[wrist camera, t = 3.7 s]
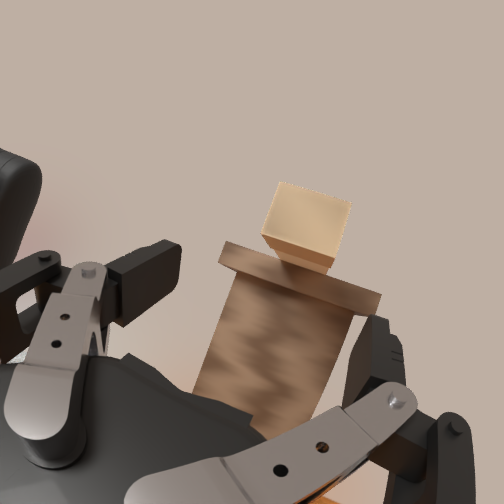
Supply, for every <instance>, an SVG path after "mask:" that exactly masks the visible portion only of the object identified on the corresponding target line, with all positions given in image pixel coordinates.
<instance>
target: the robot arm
mask: <svg viewBox="0 0 504 504" xmlns="http://www.w3.org/2000/svg"><path fill="white" fill-rule="evenodd" d="M41 186H42V173H41V170H40V168H39V166H38V165H37V164H36V163H34V162H32V161H30V160H28V159H25V158H23V157H21V156H18V155H16V154H13V153H11V152H8V151H5V150H3V149H1V148H0V504H311V503H312V502H314V501H315V500H317V499H318V498H320V497H321V496H322V495H324V494H325V493H326V492H328V491H329V490H331V489H332V488H333V487H335V486H336V485H338V484H339V483H340V482H342V481H343V480H345V479H346V478H347V477H348V476H350V475H351V474H352V473H354V472H355V471H356V470H358V469H359V468H360V467H361V466H363V465H364V464H365V463H366V462H368V461H369V460H370V461H372V462H374V463H376V464H377V465H379V466H381V467H383V468H385V469H387V470H389V475H388V482H387V487H386V493H385V498H384V502H383V504H476V489H475V467H474V454H473V444H472V436H471V429H470V427H469V425H468V423H467V422H466V420H465V419H464V418H462V417H461V416H460V415H458V414H456V413H452V412H446V413H443V414H442V415H440V417H439V418H438V419H437V420H435V419H433V418H432V417H430V416H428V415H426V414H424V413H422V412H420V411H419V410H418V409H417V405H418V403H417V399H416V397H415V395H414V394H413V393H412V391H411V390H410V389H409V388H407V387H406V379H405V368H404V358H403V349H402V344H401V343H400V341H399V339H398V338H397V336H395V335H393V334H390V329H389V320H388V319H385V318H382V317H379V316H376V315H373V314H370V315H369V317H368V318H367V321H366V323H365V325H364V327H363V329H362V331H361V333H360V335H359V337H358V340H357V341H356V343H355V345H354V347H353V350H352V352H351V355H350V358H349V365H348V372H347V378H346V384H345V390H344V396H343V402H342V407H341V406H335V407H333V408H331V409H329V410H328V411H326V412H324V413H322V414H321V415H319V416H317V417H315V418H313V419H311V420H309V421H307V422H305V423H303V424H301V425H299V426H297V427H295V428H293V429H291V430H289V431H287V432H285V433H283V434H281V435H279V436H277V437H274V438H272V439H270V440H267V439H266V438H265V437H264V436H263V435H262V434H261V433H260V432H258V431H257V430H256V429H255V428H253V427H252V426H250V423H251V421H252V418H253V416H254V415H252V414H249V413H247V412H244V411H242V410H239V409H237V408H235V407H232V406H230V405H228V404H226V403H223V402H221V401H218V400H214V399H210V398H206V397H202V396H198V395H195V394H191V393H187V392H184V391H181V390H180V389H178V388H177V387H176V386H175V385H173V384H172V383H171V382H170V381H169V380H168V379H167V378H165V377H164V376H163V375H162V374H161V373H160V372H159V371H157V370H156V369H155V368H154V367H152V366H150V365H148V364H147V363H145V362H143V361H142V360H140V359H138V358H136V357H135V356H133V355H131V354H130V353H128V354H126V355H125V356H124V357H123V358H122V359H121V360H120V359H117V358H113V357H108V356H107V350H108V342H109V334H110V323H111V322H115V323H116V324H118V325H120V326H121V327H123V328H124V327H125V326H126V325H128V324H129V323H130V322H132V321H133V320H134V319H136V318H137V317H138V316H140V315H141V314H142V313H144V312H145V311H146V310H148V309H149V308H150V307H152V306H153V305H154V304H156V303H157V302H158V301H160V300H161V299H162V298H164V297H165V296H166V295H168V294H169V293H170V292H172V291H173V290H174V288H175V287H176V285H177V283H178V279H179V271H180V261H181V253H182V248H181V246H180V245H179V244H176V243H173V242H171V241H168V240H165V239H164V240H161V241H159V242H158V243H155V244H153V245H151V246H147V247H142V248H139V249H137V250H135V251H133V252H132V253H129V254H126V255H125V256H122V257H120V258H118V259H116V260H114V261H112V262H110V263H108V264H106V265H102V264H100V263H97V262H83V263H79V264H77V265H75V266H74V267H73V268H68V267H64V266H61V257H60V255H59V253H57V252H55V251H50V250H45V251H39V252H37V253H34V254H32V255H30V256H28V257H26V258H24V259H21V260H20V261H17V262H15V263H13V261H14V259H15V257H16V255H17V252H18V250H19V247H20V244H21V241H22V238H23V236H24V233H25V230H26V228H27V225H28V223H29V221H30V218H31V216H32V214H33V211H34V209H35V206H36V204H37V201H38V198H39V194H40V191H41ZM12 263H13V264H12ZM33 288H34V290H35V296H36V300H37V303H35V304H34V305H32V306H31V307H29V308H28V309H26V310H24V311H23V312H21V313H19V314H17V310H16V301H17V299H18V298H19V297H20V296H21V295H23V294H24V293H26V292H28V291H30V290H31V289H33ZM27 347H29V349H28V352H27V355H26V358H25V360H24V361H23V362H21V363H11V364H6V363H7V362H9V361H10V360H11V359H13V358H14V357H15V356H17V355H18V354H19V353H21V352H22V351H23V350H25V349H26V348H27Z"/></svg>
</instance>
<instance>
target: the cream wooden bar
mask: <svg viewBox="0 0 504 504" xmlns="http://www.w3.org/2000/svg"><path fill="white" fill-rule="evenodd" d="M351 204H352V203H350V202H347V201H344V200H341V199H338V198H335V197H331V196H329V195H325V194H322V193H319V192H316V191H312V190H309V189H305V188H302V187H299V186H295V185H292V184H288V183H285V182H281V181H280V183H279V185H278V188H277V191H276V193H275V196H274V199H273V201H272V204H271V207H270V209H269V212H268V215H267V217H266V220H265V223H264V225H263V228H262V231H261V235H262V236H263V238H264V239H265V241H266V242H267V244H268V245H269V247H270V248H272V249H274V250H275V252H276V254H277V255H278V257H279V258H280V260H283V261H286V262H289V263H292V264H295V265H298V266H301V267H304V268H307V269H310V270H313V271H315V272H318V273H321V274H324V275H326V274H327V271H328V269H329V268H331V266H332V264H333V262H334V259H335V257H336V254H337V251H338V248H339V245H340V242H341V238H342V235H343V232H344V229H345V225H346V222H347V219H348V215H349V211H350V208H351Z"/></svg>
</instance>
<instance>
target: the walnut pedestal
mask: <svg viewBox="0 0 504 504" xmlns="http://www.w3.org/2000/svg"><path fill="white" fill-rule="evenodd" d="M218 263H220V264H222V265H224V266H226V267H228V268H230V269H232V270H234V271H236V272H237V274H236V276H235V279H234V282H233V284H232V287H231V290H230V292H229V295H228V298H227V300H226V303H225V306H224V308H223V311H222V314H221V316H220V319H219V322H218V324H217V327H216V330H215V332H214V335H213V338H212V340H211V343H210V346H209V348H208V351H207V354H206V357H205V359H204V362H203V365H202V368H201V370H200V373H199V376H198V378H197V381H196V384H195V386H194V389H193V392H192V394H195V395H198V396H202V397H206V398H210V399H214V400H218V401H221V402H223V403H226V404H228V405H230V406H232V407H235V408H237V409H239V410H242V411H244V412H247V413H249V414H252V415H254V416H253V418H252V421H251V423H250V426H252V427H253V428H255V429H256V430H257V431H258V432H260V433H261V434H262V435H263V436H264V437H265V438H266V439H267V440H270V439H272V438H274V437H277V436H279V435H281V434H283V433H285V432H287V431H289V430H291V429H293V428H295V427H297V426H299V425H301V424H303V423H305V422H307V421H309V420H310V419H311V417H312V414H313V413H314V410H315V408H316V406H317V404H318V402H319V400H320V398H321V395H322V393H323V391H324V389H325V386H326V384H327V382H328V380H329V377H330V375H331V372H332V370H333V368H334V365H335V363H336V360H337V358H338V355H339V353H340V350H341V348H342V345H343V343H344V340H345V338H346V335H347V332H348V329H349V327H350V324H351V321H352V319H353V316H354V315H359V316H366V317H369V315H370V314H373V315H375V313H376V310H377V307H378V304H379V301H380V298H381V295H382V294H379V293H376V292H374V291H371V290H368V289H365V288H362V287H359V286H356V285H353V284H350V283H348V282H345V281H342V280H339V279H336V278H333V277H330V276H327V275H324V274H321V273H318V272H315V271H313V270H310V269H307V268H304V267H301V266H298V265H295V264H292V263H289V262H286V261H283V260H280V259H277V258H275V257H272V256H269V255H266V254H263V253H259V252H257V251H254V250H251V249H248V248H245V247H242V246H239V245H236V244H233V243H231V242H228V241H226V242H225V245H224V248H223V250H222V253H221V255H220V258H219V261H218Z"/></svg>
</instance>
